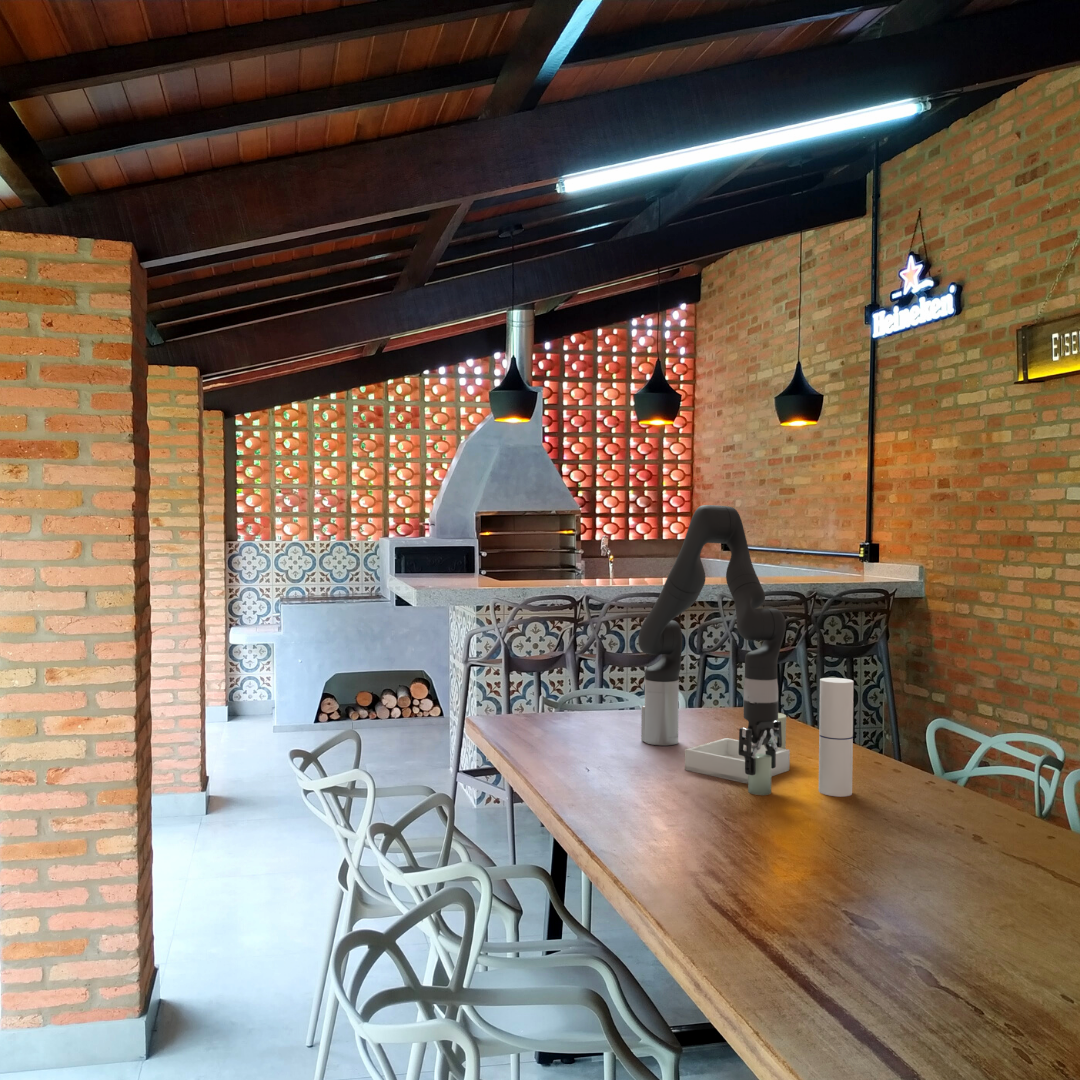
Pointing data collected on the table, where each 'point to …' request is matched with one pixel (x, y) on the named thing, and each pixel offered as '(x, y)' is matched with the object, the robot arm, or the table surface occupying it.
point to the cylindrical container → (836, 736)
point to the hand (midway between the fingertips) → (760, 771)
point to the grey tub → (728, 760)
